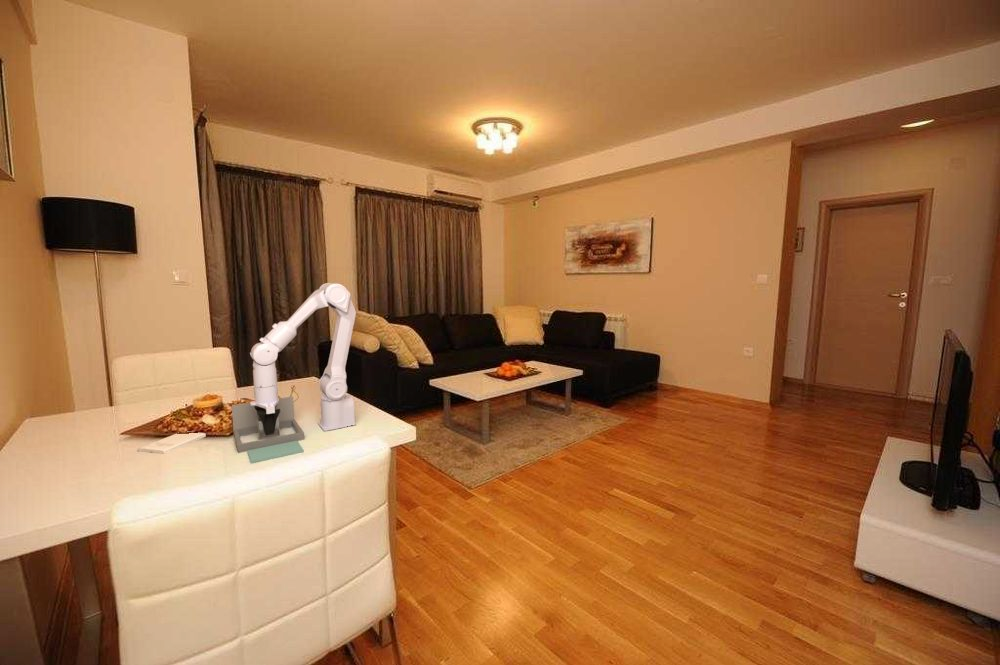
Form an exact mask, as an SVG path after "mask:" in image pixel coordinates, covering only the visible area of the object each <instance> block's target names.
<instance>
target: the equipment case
mask: <svg viewBox="0 0 1000 665" xmlns="http://www.w3.org/2000/svg"><path fill="white" fill-rule="evenodd" d="M278 399H279V402H278V403H277V406H276V408H275V409H280V413H279V415H278V418H279V430H281V429H287V428H292V429H293V431H294V432H295V433H290V434H283V435H280V436H278V437H273V438H268V439H263V440H259V439H258V440H253V441H249V442H242V439H241V437H245V436H248V435H249V436H250V435H255V434H258V429H257V417H259V416H258V414H257V411H256V409H255V408H254V406H256V405H253V406H251V405H250V403H248V402H244V403H238V404H232V405H231V415H232V429H233V437H234V438H233V439H234V441H235V446H236V449H237V452H238V454H239V453H245V452H247V451H248V450H253V449H258V448H263V447H268V446H273V445H278V444H283V443H287V442H292V441H298V442H299V441H305V432H304V430H303V429H302V427H301V426H300V425H299V423H298V422H297V420H296V419H295V402H294V401H295V400H294V396H293V395H292V396H291V397H290V396H286V397H281V398H280V397H279V398H278Z"/></svg>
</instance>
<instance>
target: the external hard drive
mask: <svg viewBox="0 0 1000 665" xmlns="http://www.w3.org/2000/svg"><path fill="white" fill-rule="evenodd" d="M206 437H207V436H206V433H205V432H198V433H189V434H177V433H174V434H172V435H169V436H167V437H164V438H162V439H159V440H157V441H154V442H151V443H148V444H145V445H143V446H141V447H139V448H137V452H138V453H146V454H148V453H152V454H157V455H158V454H159V455H165V454H166V455H167V454H168V453H170V452H173V451H175V450H177V449H180V448H182V447H184V446H185V447H186V445H189V444H192V443H194V442H196V441H199V440H201V439H204V438H206Z"/></svg>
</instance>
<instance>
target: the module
mask: <svg viewBox="0 0 1000 665" xmlns="http://www.w3.org/2000/svg"><path fill="white" fill-rule="evenodd" d="M257 429H258V433H257V439H258V440H263V439H268V438H273V437H278V436H281V435H280V432H281V431H280V429H279V418H278V417H277V421H276V426H275V431H274V434H269V435H266V434H265V432H264V428H263V424H262V421H261V419H260V417H257Z"/></svg>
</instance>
